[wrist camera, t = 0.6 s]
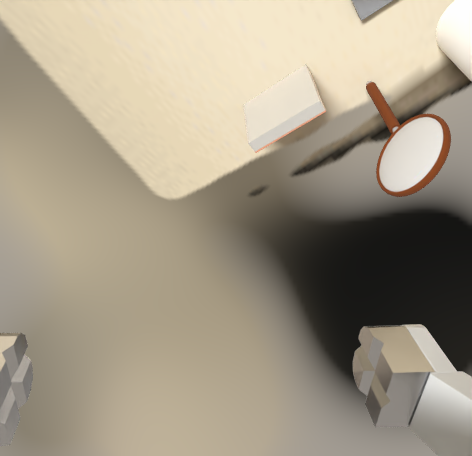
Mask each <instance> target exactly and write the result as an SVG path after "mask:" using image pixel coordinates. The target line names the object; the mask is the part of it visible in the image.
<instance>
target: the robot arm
mask: <svg viewBox="0 0 472 456" xmlns="http://www.w3.org/2000/svg"><path fill="white" fill-rule="evenodd" d="M359 340H360V342H361V344H362V346H361V347H359V348H358V349H357V350H356V351H355V354H354V359H353V374H354V378H355V381H356V384H357V386H358V388H359V390H360V391H362V392H363V393H364V394H366V395H367V399H366V403H365V405H366V407H367V409H368V412H369V414H370V416H371V419H372V421H373V423H374V426H375V427H409V429H410V430H411V431H412V432H413V433H415V435H416V436H417V437H419V438H420V439H421V440H422V441H423V442H424V443H425V444H426V445H427V446H428V447H429V448H430V449H431V450H432V451H434V452H435V453H436V454H437V455H438V456H472V377H471V376H469V375H468V374H466V373H464V372H457V371H456V369H455V368H454V367H453V365H452V364H451V363H450V361H449V360H448V358H447V357H446V356H445V354H444V353H443V351H442V350H441V349H440V347H439V346H438V344H437V343H436V341H435V340H434V339H433V337H432V336H431V334H430V333H429V332H428V330H427V329H426V328H425V327H424V326H423V325H421V324H418V325H417V324H415V325H401V326H400V325H394V326H364V327H363V328H362V329H361V332H360V335H359ZM27 347H28V344H27V340H26V337H25V335H24V334H22V333H0V446H3V445H10V444H11V441H12V439H13V436H14V434H15V431H16V428H17V426H18V423H19V421H20V415H19V410H18V408H20V407H21V406H22V405H23V404H24V403H26V402H27V400H28V397H29V394H30V391H31V385H32V380H33V368H32V362H31V360H30V359H29V358H28V357H27V356H25V355H24V354H25V351H26V349H27Z"/></svg>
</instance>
